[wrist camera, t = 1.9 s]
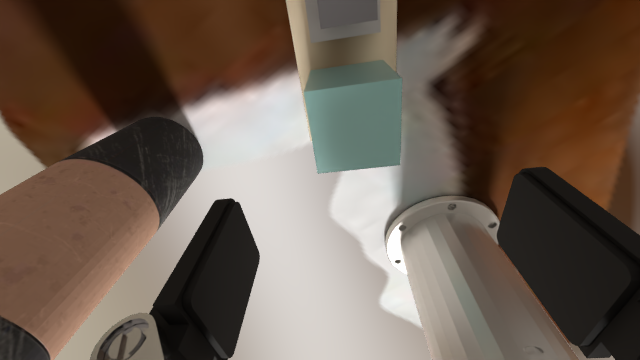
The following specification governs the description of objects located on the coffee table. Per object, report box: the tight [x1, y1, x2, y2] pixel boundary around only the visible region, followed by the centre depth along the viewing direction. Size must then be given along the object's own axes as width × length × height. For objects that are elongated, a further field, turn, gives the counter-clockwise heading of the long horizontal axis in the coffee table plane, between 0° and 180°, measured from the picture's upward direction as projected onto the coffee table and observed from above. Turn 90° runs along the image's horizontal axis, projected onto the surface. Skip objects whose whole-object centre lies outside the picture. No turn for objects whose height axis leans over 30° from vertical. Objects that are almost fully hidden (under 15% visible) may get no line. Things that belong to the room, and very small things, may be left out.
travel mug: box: [0, 117, 203, 360], centre depth 18 cm, size 8×8×20 cm
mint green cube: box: [304, 60, 402, 173], centre depth 19 cm, size 6×6×6 cm
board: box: [286, 0, 397, 141], centre depth 20 cm, size 8×14×1 cm, turn 8°
